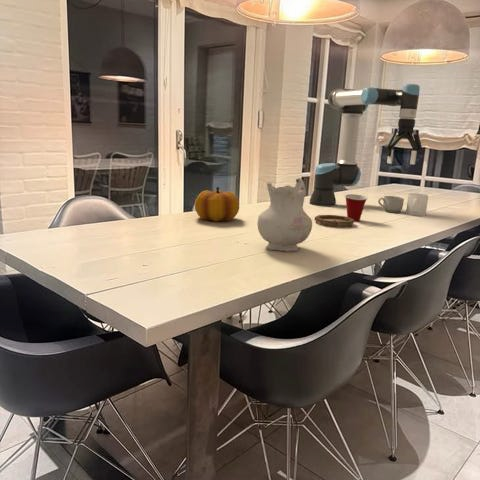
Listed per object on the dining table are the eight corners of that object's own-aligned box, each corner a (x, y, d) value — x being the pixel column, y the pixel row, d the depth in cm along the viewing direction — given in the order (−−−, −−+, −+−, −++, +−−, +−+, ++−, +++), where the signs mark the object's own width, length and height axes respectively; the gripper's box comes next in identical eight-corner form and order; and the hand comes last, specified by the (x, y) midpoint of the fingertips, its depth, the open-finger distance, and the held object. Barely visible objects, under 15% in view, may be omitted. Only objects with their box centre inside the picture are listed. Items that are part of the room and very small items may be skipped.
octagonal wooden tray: (309, 220, 227) (309, 213, 226) (340, 219, 233) (341, 212, 232) (326, 228, 212) (327, 220, 211) (359, 227, 217) (360, 219, 216)
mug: (423, 217, 251) (426, 197, 249) (403, 215, 255) (406, 195, 253) (426, 213, 263) (429, 194, 260) (407, 211, 267) (409, 192, 265)
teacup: (400, 210, 269) (401, 196, 267) (404, 214, 259) (406, 199, 257) (374, 209, 271) (376, 195, 269) (378, 212, 260) (380, 197, 258)
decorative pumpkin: (248, 222, 217) (250, 189, 214) (205, 225, 206) (206, 190, 202) (226, 214, 234) (228, 183, 230) (185, 216, 223) (186, 184, 219)
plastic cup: (347, 222, 228) (349, 197, 225) (339, 217, 238) (341, 193, 235) (368, 222, 229) (371, 197, 227) (359, 218, 240) (362, 194, 237)
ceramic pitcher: (270, 240, 188) (269, 177, 183) (319, 243, 181) (319, 177, 175) (250, 253, 168) (248, 182, 163) (304, 257, 161) (304, 183, 156)
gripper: (390, 117, 218) (384, 163, 223) (433, 120, 227) (427, 165, 232) (380, 116, 225) (374, 162, 230) (422, 120, 234) (416, 163, 239)
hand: (400, 164), depth 231 cm, fingers open, 13 cm apart
